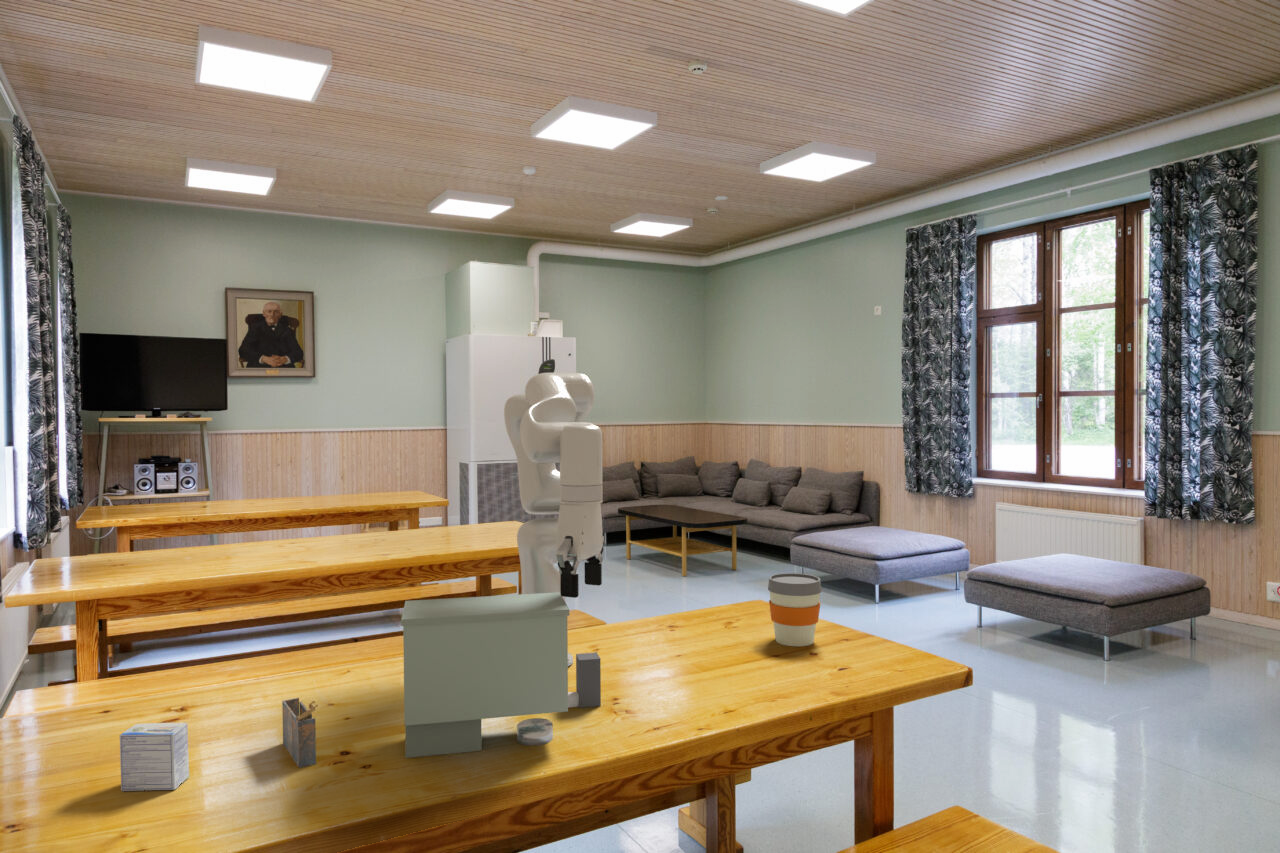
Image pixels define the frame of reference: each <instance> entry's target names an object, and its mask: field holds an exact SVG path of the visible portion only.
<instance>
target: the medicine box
mask: <svg viewBox="0 0 1280 853" xmlns="http://www.w3.org/2000/svg"><path fill="white" fill-rule="evenodd" d="M188 730H189V729H188V723H187V722H153V723H152V722H148V723H147V722H146V723H145V722H144V723H136V724H134V725H132V726H131V727H129V728H127V729H126V730H125V731H123V732H122V733H121V734H120V735H119V757H120V758H119V759H120V785H121V786H120V790H121V792H135V791H136V792H138V791H141V792H142V791H144V790H145V791H174V790H176V789H177V788H178V787H180V786H181V785H182V784H183V783H184V782H185V781H186V780H188V778H189V777H190V767H189V766H190V762H189V736H188V733H189V732H188ZM181 783H182V784H181ZM180 784H181V785H180ZM179 785H180V786H179ZM145 791H144V792H145Z"/></svg>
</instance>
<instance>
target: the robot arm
mask: <svg viewBox="0 0 1280 853" xmlns="http://www.w3.org/2000/svg"><path fill="white" fill-rule="evenodd" d="M594 402H595V388H594V384H593V382H592V380H591V379H590V378H589V376H587V375H586V374H584V373H581V372H541V373H537V374H535V375H534V376H532V377H530V378H529V379H528V381H527V383H526V385H525V389H524V392H523V393H518V394H514V395H511V396H510V397H509V398H507V399H506V401H505V404H504V409H503V410H504V412H503V413H504V414H503V416H504V425H505V429H506V432H507V436H508V438H509V441H510V443H511V445H512V448H513V450H514V454H515V456H516V460H517V474H518V475H517V476H518V485H519V486H518V488H519V497H520V502H521V503H520V504H521V507H522V509H523V510H524V511H525V513H527V514H530V515H537V516H538V515H558V517H551V518H550V517H549V518H536V519H532V520H528V521H526V522H523V524H521V525H520V526H519V528H518V531H517V534H516V543H517V550H518V555H519V561H520V562H519V563H520V574H521V594H539V593H557V592H560V594H561V596H562V597H563V599H564V601H565V603H566V600H567V599H566V598H572V599H573V598H574V599H575V598H576V599H577V598H578V597H579V593H580V592H579V573H577V571H578V568H579V565H580V562H583V561H585V562H584V584H585V585H588V586H589V585H590V586H601V585H602V583H603V582H602V581H603V578H602V574H603V572H602V571H603V570H602V567H603V565H602V563H603V559H604V558H603V556H602V555H603V552H604V542H605V536H604V534H603V519H602V507H601V504H602V503H603V501H604V500H603V496H604V495H603V494H604V493H603V492H604V491H603V431H602V429H601V428H600V427H599V426H598V425H595V424H594V423H592V422H586V421H585V419H586V418H587V416H588V415H589V414H590V412H591V411H592V408H593V406H594ZM584 421H585V422H584ZM556 464H559V470H558V469H557V467H556ZM556 563H557V566H558V569H559V570H557V569H556V568H555V566H554V565H555V564H556ZM571 563H572V564H571ZM566 604H567V603H566ZM573 662H574V656H573V654H571V653H570V652H568V667H570V666H571V665H572V664H573Z"/></svg>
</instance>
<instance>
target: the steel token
mask: <svg viewBox="0 0 1280 853" xmlns="http://www.w3.org/2000/svg"><path fill="white" fill-rule="evenodd" d="M553 726H554V724H553V721H552V720H549V719H547V718H542V717H541V718H540V717H537V718H536V717H535V718H532V717H531V718H527V719H524V720H521V721H519V722H518V723H517V725H516V740H517V741H516V742H518V743H519V744H520V745H523V746H528V745H529V747H533V745H537V746H542V745H546V744H548V743H551V741H553V735H554V733H553Z"/></svg>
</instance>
